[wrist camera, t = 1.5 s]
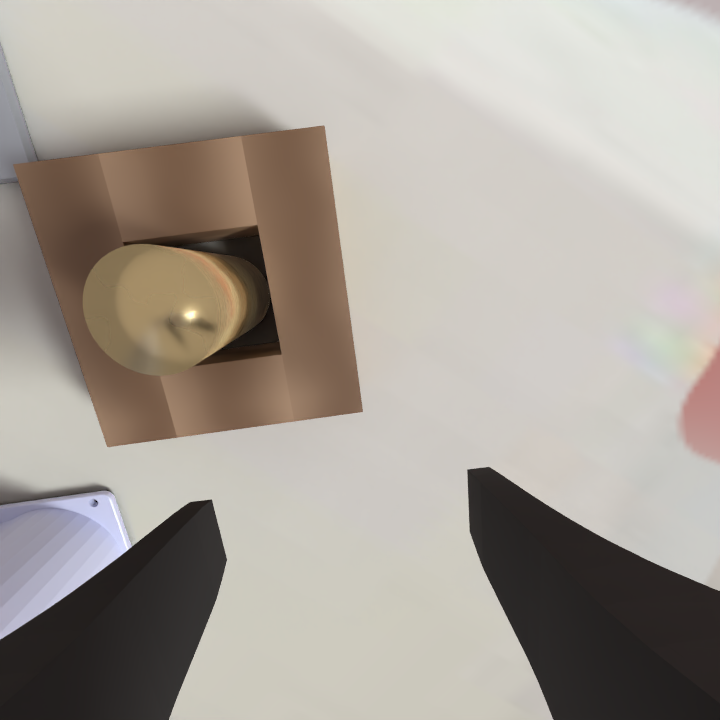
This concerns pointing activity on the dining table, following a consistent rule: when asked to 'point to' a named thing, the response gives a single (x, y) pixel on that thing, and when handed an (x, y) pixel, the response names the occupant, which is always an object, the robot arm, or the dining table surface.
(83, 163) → the block
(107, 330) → the brass cylinder
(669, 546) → the dining table surface
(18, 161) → the pad
